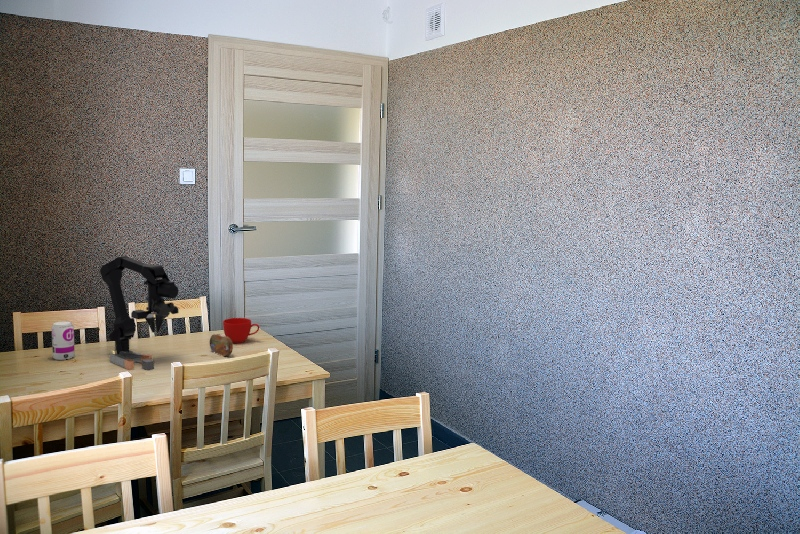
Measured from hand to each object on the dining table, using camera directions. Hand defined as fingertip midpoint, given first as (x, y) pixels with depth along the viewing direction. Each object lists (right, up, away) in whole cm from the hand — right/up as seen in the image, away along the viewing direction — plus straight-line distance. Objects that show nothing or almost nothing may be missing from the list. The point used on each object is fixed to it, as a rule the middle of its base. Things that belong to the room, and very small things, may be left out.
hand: (155, 332), depth 284 cm
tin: (+24, -11, +14) cm, 30 cm away
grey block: (+1, -14, -11) cm, 17 cm away
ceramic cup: (+28, -8, +35) cm, 46 cm away
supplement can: (-39, -11, 0) cm, 40 cm away
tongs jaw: (-7, -12, -3) cm, 14 cm away
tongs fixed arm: (-11, -13, -7) cm, 18 cm away
